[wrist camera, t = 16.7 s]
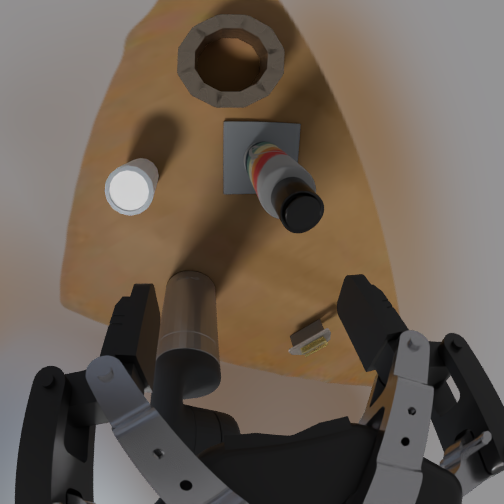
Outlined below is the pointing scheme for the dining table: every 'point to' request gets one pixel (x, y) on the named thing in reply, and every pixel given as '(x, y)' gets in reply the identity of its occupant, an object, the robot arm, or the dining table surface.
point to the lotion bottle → (283, 187)
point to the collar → (245, 31)
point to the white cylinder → (132, 186)
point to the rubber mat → (243, 137)
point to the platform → (309, 339)
